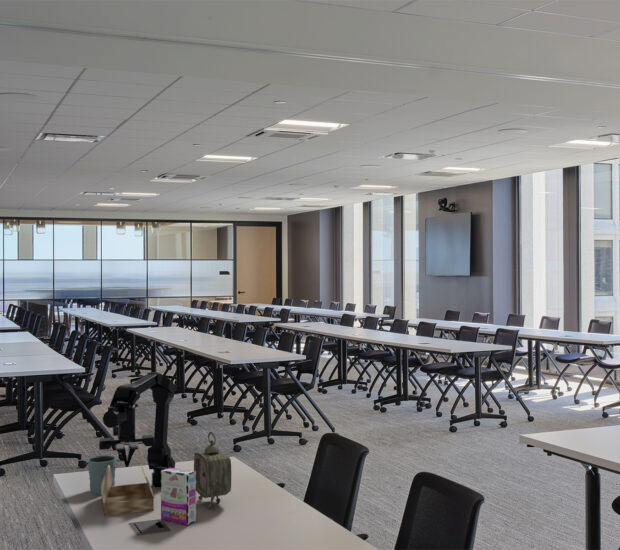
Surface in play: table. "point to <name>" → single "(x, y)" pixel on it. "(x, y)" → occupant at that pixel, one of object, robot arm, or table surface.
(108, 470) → the flap
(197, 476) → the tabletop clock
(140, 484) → the carton
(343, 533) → the table surface
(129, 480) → the table surface
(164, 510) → the candy bar box
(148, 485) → the flap
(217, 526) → the table surface
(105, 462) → the teal cup
